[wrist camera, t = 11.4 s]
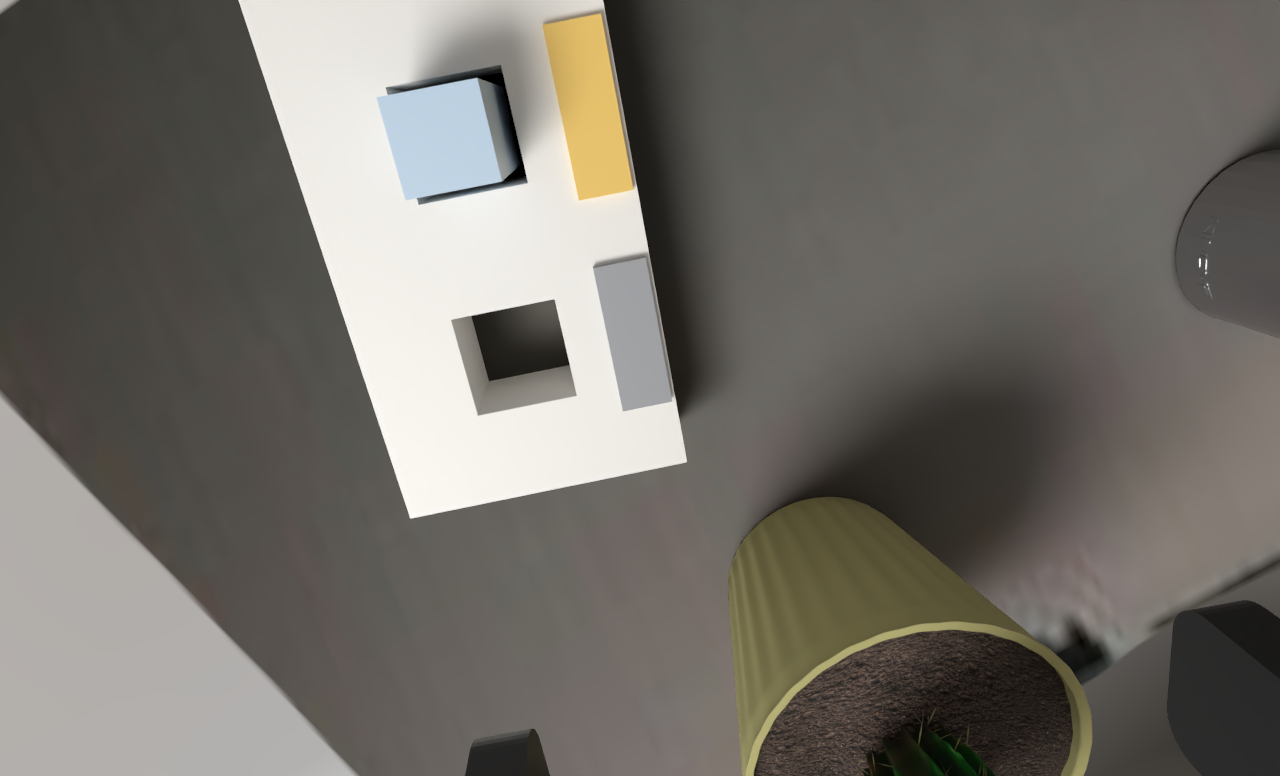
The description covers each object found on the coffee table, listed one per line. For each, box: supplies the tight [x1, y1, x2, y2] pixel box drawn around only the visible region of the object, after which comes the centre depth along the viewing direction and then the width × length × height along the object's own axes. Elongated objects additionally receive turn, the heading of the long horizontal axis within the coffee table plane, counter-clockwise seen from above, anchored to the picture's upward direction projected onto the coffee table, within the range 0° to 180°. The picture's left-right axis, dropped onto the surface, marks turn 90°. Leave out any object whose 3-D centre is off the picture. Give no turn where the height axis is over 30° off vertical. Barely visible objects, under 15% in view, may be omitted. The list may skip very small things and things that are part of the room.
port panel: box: [239, 0, 687, 519], centre depth 36 cm, size 14×24×5 cm, turn 11°
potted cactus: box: [728, 497, 1092, 776], centre depth 33 cm, size 15×15×30 cm
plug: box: [377, 78, 520, 200], centre depth 32 cm, size 4×4×10 cm
